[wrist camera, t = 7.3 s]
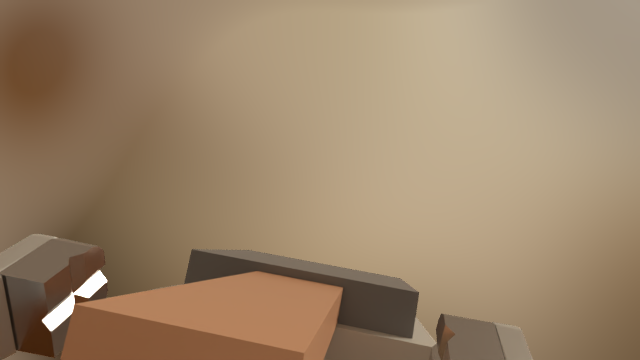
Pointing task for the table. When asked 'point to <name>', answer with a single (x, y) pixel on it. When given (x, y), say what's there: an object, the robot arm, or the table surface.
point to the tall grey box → (377, 344)
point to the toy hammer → (241, 311)
